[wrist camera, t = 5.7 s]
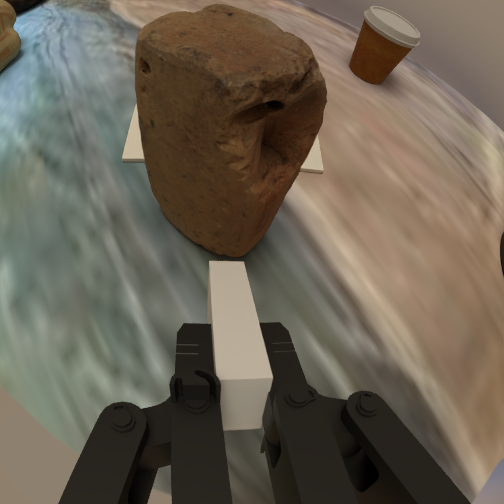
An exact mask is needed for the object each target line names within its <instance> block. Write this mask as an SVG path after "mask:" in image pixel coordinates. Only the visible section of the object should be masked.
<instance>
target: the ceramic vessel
mask: <svg viewBox="0 0 504 504" xmlns="http://www.w3.org/2000/svg"><path fill="white" fill-rule="evenodd" d="M15 21H16V13H15V10H14V9H13V7H12V6H11V5H10V4H9V3H8V2H7V1H4V0H0V71H1V70H2V69H3V68H4V67H5V66H6V65H7V64H8V63H10V62H11V61H12V60H13V59H14V58H15V57H16V56H17V55H18V52H19V49H20V46H21V40H20V37H19V35H18V33H17V32H16V31H15V30H14V29H13V26H14V23H15Z"/></svg>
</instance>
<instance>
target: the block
mask: <svg viewBox="0 0 504 504" xmlns="http://www.w3.org/2000/svg"><path fill="white" fill-rule="evenodd" d="M135 90H136V97H137V111H138V122H139V129H140V134H141V144H142V149H143V155H144V160H145V164H146V169H147V173H148V177H149V181H150V184H151V189H152V192H153V194H154V196H155V198H156V199H157V201H158V203H159V204H160V207H161V209H162V212H163V214H164V215H165V216H166V218H167V219H168V220H169V221H170V222H171V223H172V224H173V225H174V226H175V227H176V228H177V229H178V230H179V231H180V232H182V234H183V235H184V236H186V237H187V238H189V239H190V240H192V241H193V242H194V243H196V244H200V245H202V246H203V247H204V248H205V249H208V250H210V251H212V252H214V253H217V254H219V255H228V256H230V257H241V256H244V255H245V254H247V253H248V252H249V251H250V250H251V249H252V248H253V247H254V246H255V245H256V244H257V243H258V242H259V240H260V239H261V238H262V237H263V236H264V234H265V233H266V231H267V230H268V228H269V227H270V225H271V223H272V221H273V219H274V217H275V215H276V214H277V212H278V210H279V207H280V205H281V204H282V202H283V200H284V197H285V195H286V194H287V192H288V191H289V189H290V188H291V186H292V184H293V182H294V181H295V179H296V177H297V176H298V174H299V172H300V169H301V166H302V165H303V163H304V162H305V160H306V158H307V157H308V155H309V152H310V150H311V148H312V146H313V144H314V141H315V139H316V137H317V134H318V132H319V129H320V127H321V125H322V123H323V111H324V108H325V105H326V103H327V98H326V96H327V89H326V84H325V80H324V78H323V76H322V74H321V72H320V70H319V65H318V62H317V60H316V59H315V57H314V55H313V52H312V50H311V48H310V46H309V45H307V44H306V43H305V42H304V41H303V40H302V39H300V38H298V37H296V36H295V35H293V34H291V33H288V32H283V31H282V30H281V29H280V28H279V27H278V26H277V25H276V24H275V23H273V22H272V21H270V20H268V19H267V18H264V17H261V16H258V15H256V14H253V13H250V12H248V11H245V10H242V9H239V8H236V7H232V6H229V5H223V4H214V5H210V6H205V7H204V8H203V9H202V10H201V11H197V12H195V13H191V12H186V11H183V12H173V13H169V14H166V15H164V16H161V17H159V18H158V19H156V20H154V21H153V22H151V23H149V24H147V25H145V26H144V27H143V28H142V29H141V31H140V32H139V34H138V39H137V43H136V51H135Z"/></svg>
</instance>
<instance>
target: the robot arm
mask: <svg viewBox="0 0 504 504" xmlns="http://www.w3.org/2000/svg"><path fill="white" fill-rule="evenodd" d="M501 261H502V267H503V272H504V233H503V236H502V240H501ZM207 312H208V324H191V323H184V324H183V325H182V327H181V328H180V329H179V331H178V332H177V346H176V362H175V374H174V375H173V376H172V378H171V381H170V384H169V386H170V393H171V396H170V397H169V398H168V399H167V400H166V401H165V402H163V403H161V404H159V405H156V406H152V407H148V408H143V409H140V408H139V407H138V406H136V405H134V404H132V403H128V402H117V403H113V404H111V405H109V406H107V407H106V408H105V409H104V410H103V411H102V413H101V414H100V416H99V418H98V420H97V422H96V424H95V426H94V428H93V430H92V432H91V434H90V436H89V438H88V440H87V442H86V444H85V446H84V449H83V451H82V453H81V455H80V457H79V459H78V461H77V463H76V465H75V468H74V470H73V472H72V474H71V476H70V479H69V481H68V483H67V485H66V488H65V490H64V492H63V494H62V497H61V499H60V501H59V503H58V504H147V503H148V499H149V496H150V493H151V490H152V486H153V483H154V480H155V477H156V473H157V470H158V468H160V467H164V466H168V465H171V487H172V504H233V503H232V496H231V489H230V482H229V474H228V466H227V458H226V450H225V442H224V433H223V430H245V429H260V428H261V426H262V422H263V425H264V430H265V434H264V438H263V441H262V445H261V452H260V453H264V450H265V453H266V458H267V463H268V468H269V473H270V478H271V482H272V487H273V492H274V497H275V501H276V504H471V503H470V502H469V501H468V499H467V498H466V497H465V496H464V495H463V494H462V492H461V491H460V490H459V489H458V488H457V486H456V485H455V484H454V483H453V482H452V480H451V479H450V478H449V477H448V476H447V475H446V473H445V472H444V471H443V470H442V469H441V467H440V466H439V465H438V464H437V463H436V462H435V460H434V459H433V458H432V457H431V456H430V454H429V453H428V452H427V451H426V450H425V449H424V447H423V446H422V445H421V444H420V443H419V441H418V440H417V439H416V438H415V437H414V436H413V434H412V433H411V432H410V431H409V430H408V428H407V427H406V426H405V425H404V424H403V423H402V421H401V420H400V419H399V418H398V417H397V416H396V414H395V413H394V412H393V411H392V410H391V408H390V407H389V406H388V405H387V404H386V403H385V401H384V400H383V399H382V398H381V397H379V396H378V395H377V394H374V393H372V392H369V391H359V392H355V393H353V394H352V395H350V396H349V398H348V400H343V399H336V398H329V397H325V396H322V395H320V394H318V393H317V391H316V390H315V389H314V388H313V387H311V386H310V385H308V383H307V382H306V379H305V376H304V373H303V371H302V368H301V365H300V362H299V359H298V357H297V354H296V352H295V348H294V345H293V343H292V340H291V337H290V334H289V331H288V330H287V329H286V328H285V327H284V326H283V325H282V324H281V323H280V322H275V323H259V321H258V317H257V313H256V309H255V305H254V301H253V297H252V293H251V289H250V285H249V281H248V277H247V273H246V269H245V265H244V262H238V261H209V279H208V310H207Z"/></svg>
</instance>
